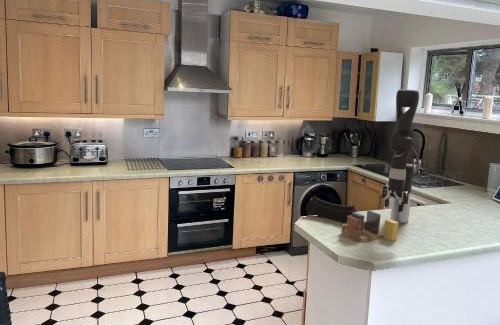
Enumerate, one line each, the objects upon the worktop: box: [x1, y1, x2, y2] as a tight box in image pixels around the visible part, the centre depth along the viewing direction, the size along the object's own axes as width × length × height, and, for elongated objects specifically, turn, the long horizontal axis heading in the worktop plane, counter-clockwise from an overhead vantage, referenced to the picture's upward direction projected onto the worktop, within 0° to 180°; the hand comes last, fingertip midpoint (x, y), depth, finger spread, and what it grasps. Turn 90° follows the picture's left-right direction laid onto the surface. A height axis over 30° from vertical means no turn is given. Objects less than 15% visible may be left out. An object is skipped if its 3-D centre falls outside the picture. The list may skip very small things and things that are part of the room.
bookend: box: [365, 210, 382, 234], centre depth 212 cm, size 1×8×10 cm, turn 30°
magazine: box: [305, 195, 357, 224], centre depth 233 cm, size 17×3×30 cm
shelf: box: [340, 211, 384, 243], centre depth 209 cm, size 17×12×12 cm
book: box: [383, 218, 400, 242], centre depth 207 cm, size 4×6×9 cm, turn 30°
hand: (393, 209), depth 205 cm, fingers open, 8 cm apart
